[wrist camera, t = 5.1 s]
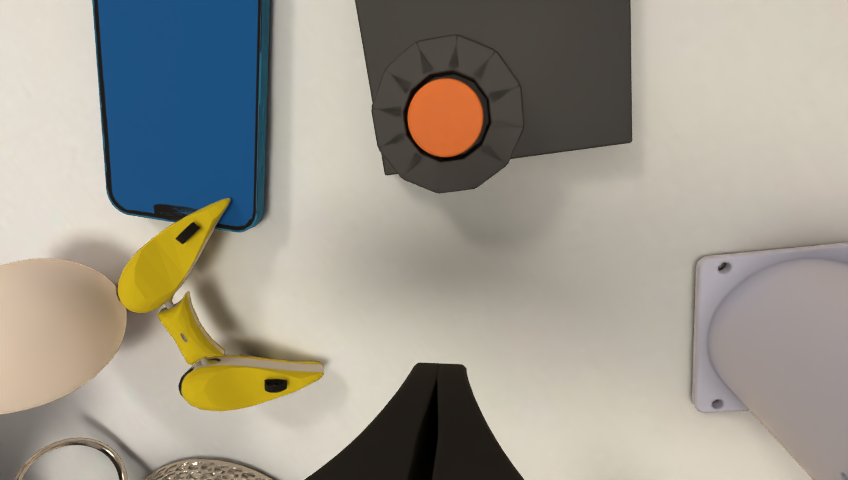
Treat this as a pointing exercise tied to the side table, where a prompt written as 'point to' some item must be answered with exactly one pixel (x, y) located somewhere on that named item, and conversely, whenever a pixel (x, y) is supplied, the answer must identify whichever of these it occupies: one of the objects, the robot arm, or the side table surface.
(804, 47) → the side table surface
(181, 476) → the silver candle holder
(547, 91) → the push button box
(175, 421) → the side table surface
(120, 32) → the smartphone
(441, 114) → the button
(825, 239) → the side table surface
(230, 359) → the yellow curved piece
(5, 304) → the egg
